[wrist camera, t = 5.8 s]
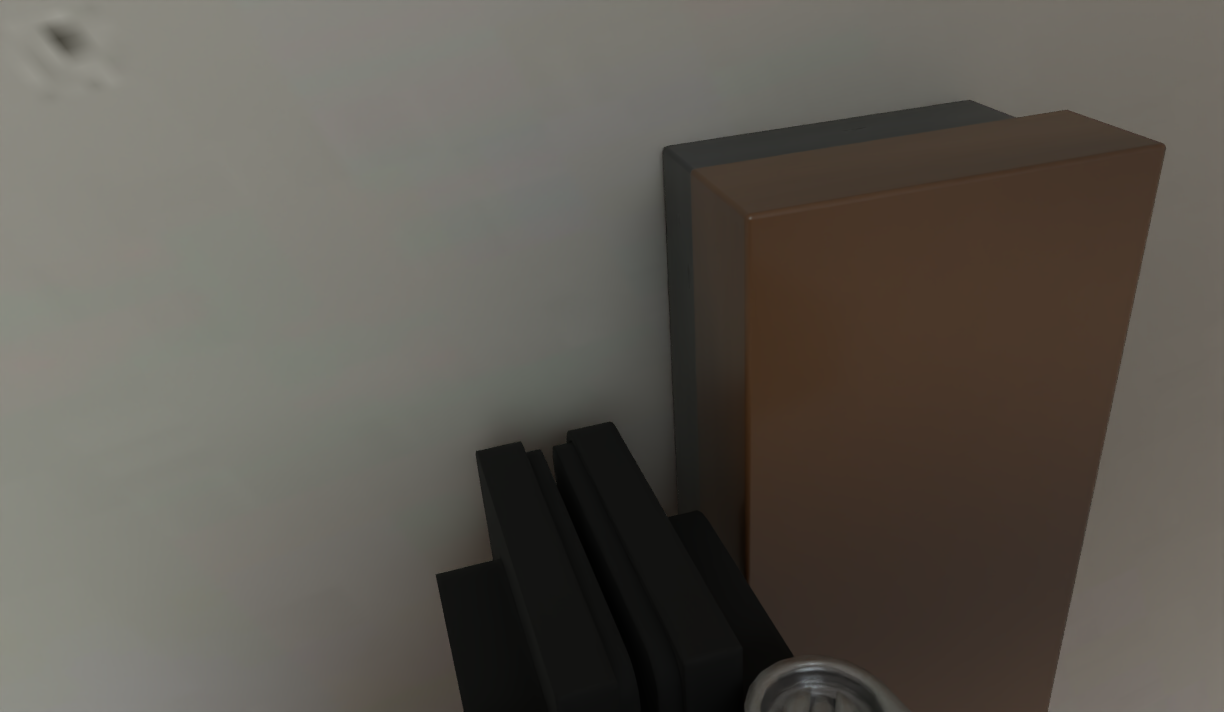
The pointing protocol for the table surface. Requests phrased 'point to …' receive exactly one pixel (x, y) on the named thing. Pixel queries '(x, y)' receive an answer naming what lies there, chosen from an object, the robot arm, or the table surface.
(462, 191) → the table surface
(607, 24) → the table surface
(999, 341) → the brush
